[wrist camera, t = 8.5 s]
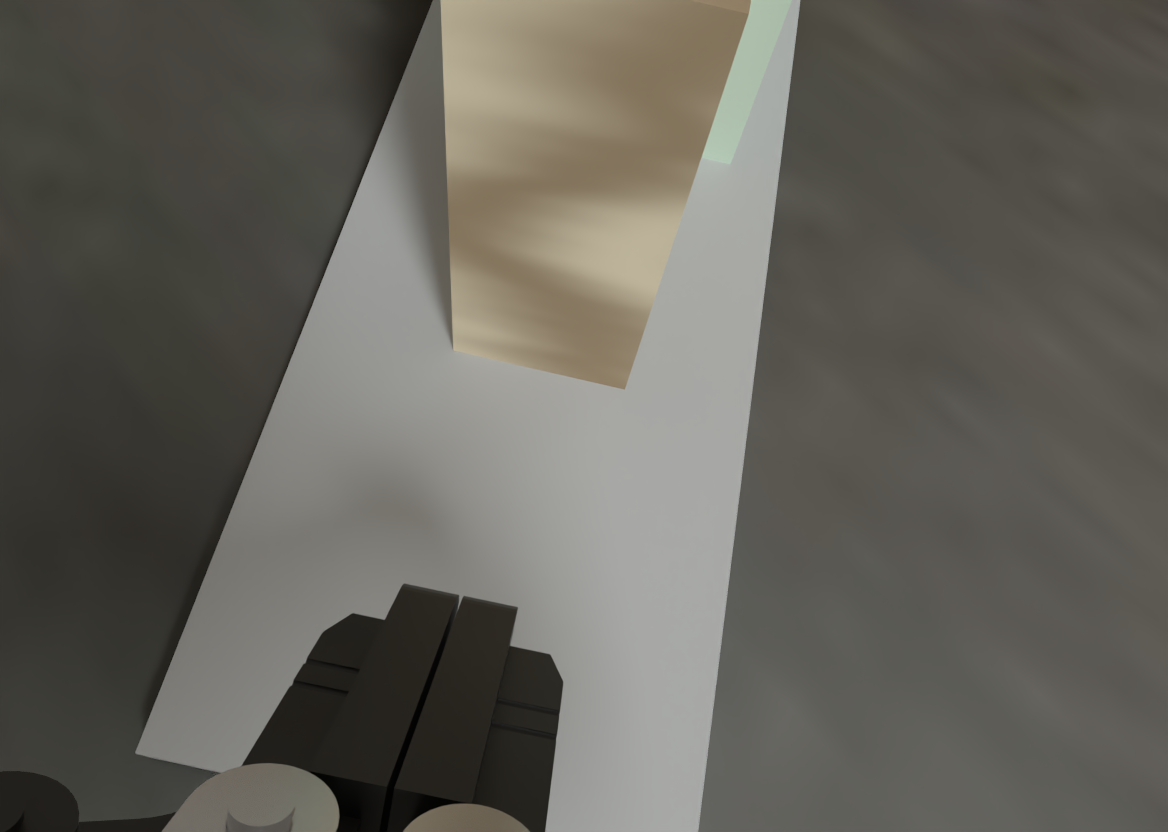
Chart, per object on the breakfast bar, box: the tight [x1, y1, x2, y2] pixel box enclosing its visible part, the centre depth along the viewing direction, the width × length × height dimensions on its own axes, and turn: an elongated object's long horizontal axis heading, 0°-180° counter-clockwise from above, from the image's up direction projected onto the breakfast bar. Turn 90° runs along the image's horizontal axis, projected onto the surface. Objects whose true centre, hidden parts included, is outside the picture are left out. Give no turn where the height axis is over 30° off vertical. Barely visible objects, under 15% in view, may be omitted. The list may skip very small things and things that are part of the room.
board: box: [135, 0, 800, 832], centre depth 19 cm, size 9×22×1 cm, turn 169°
